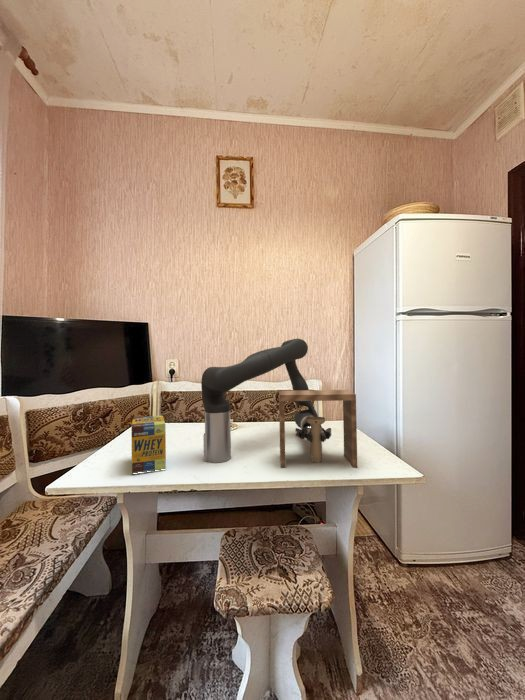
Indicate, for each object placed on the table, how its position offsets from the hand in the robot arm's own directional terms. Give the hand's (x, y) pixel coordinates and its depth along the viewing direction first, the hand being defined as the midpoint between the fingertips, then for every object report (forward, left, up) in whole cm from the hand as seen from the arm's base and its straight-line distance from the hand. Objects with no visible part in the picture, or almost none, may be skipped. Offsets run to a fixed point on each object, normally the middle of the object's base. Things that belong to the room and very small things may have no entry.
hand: (317, 439), depth 101 cm
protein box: (-58, 0, -9) cm, 59 cm away
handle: (0, +3, -9) cm, 9 cm away
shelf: (0, +3, -9) cm, 9 cm away
